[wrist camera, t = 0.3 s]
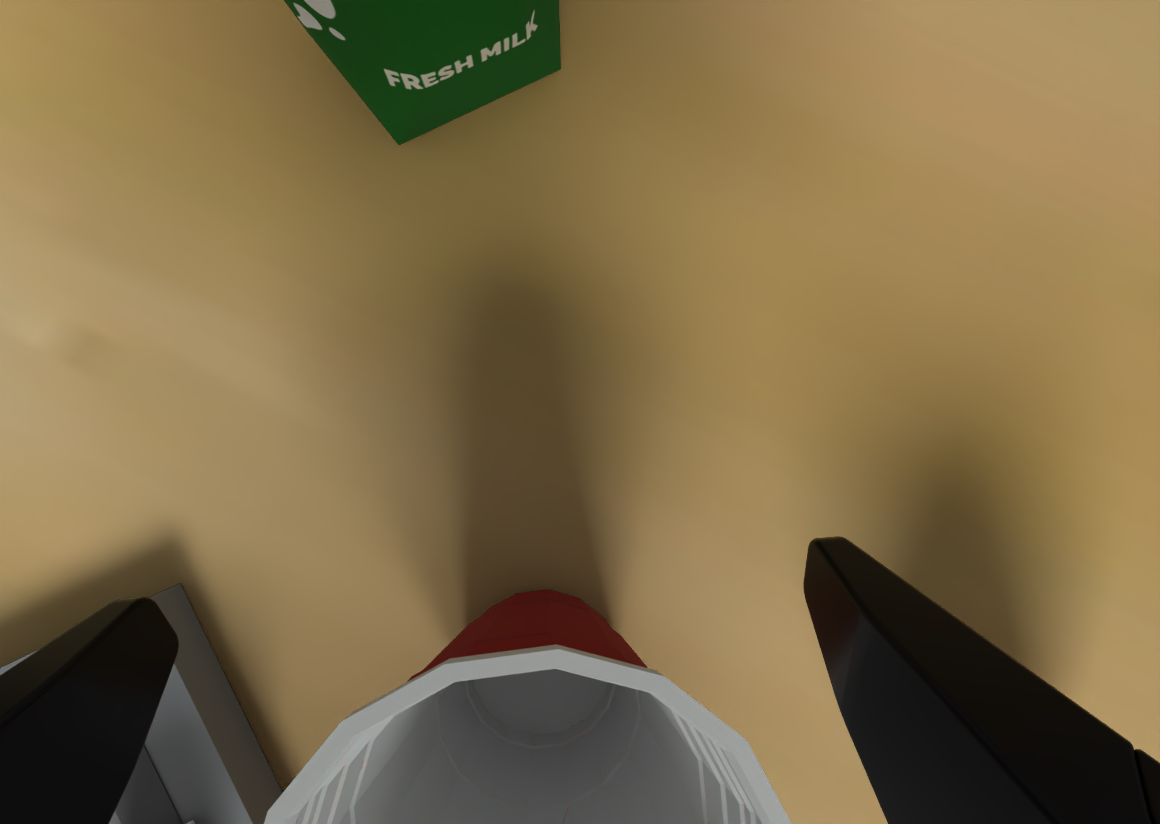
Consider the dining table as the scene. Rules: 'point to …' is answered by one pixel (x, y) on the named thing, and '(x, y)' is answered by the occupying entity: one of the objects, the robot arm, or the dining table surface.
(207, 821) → the breaker panel
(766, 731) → the dining table surface
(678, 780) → the plastic cup
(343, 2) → the milk carton
